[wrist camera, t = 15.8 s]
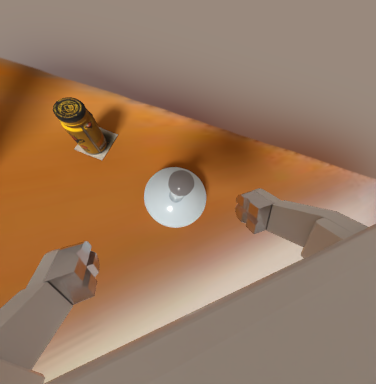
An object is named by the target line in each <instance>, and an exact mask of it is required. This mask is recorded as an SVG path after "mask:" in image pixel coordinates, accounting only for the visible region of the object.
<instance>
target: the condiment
mask: <svg viewBox="0 0 376 384" xmlns="http://www.w3.org/2000/svg"><path fill="white" fill-rule="evenodd" d="M53 112H54V114H55V115H56V117H57V118H58V119H59V120H60V122H61V125H62V126H63V128H64V129H65V130H66V131H67V132H68V133H69V134H70V135H71V136H72V138H73V139H74V140H75V141H76V142H77V143H78V145H77V146H76V148H75V150H77V151H80V152H82V153H85V154H87V155H90V156H92V157H95V158H97V159H100V160H103V158H104V157H105V155H106V153H107V152H108V150H109V149H110V147H111V145H112V144H113V142H114V141H115V139H116V137H117V135H118V134H115V133H112V132H110V131H107V130H105V129H102V128H100V127H99V126H98V124H97V123H96V121H95V119H94V117H93V116H92V114H91V113H90V112H89V111H88V110H87V109H86V108H85V106H84V104H83V103H82V102H81V101H79V100H78V99H75V98H71V97H69V98H62V99H60V100H58V101H57V102H56V103H55V104H54V106H53Z"/></svg>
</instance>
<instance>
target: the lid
mask: <svg viewBox="0 0 376 384" xmlns="http://www.w3.org/2000/svg"><path fill="white" fill-rule="evenodd" d="M144 201H145V205H146V208H147V210H148V212H149V214H150V215H151V216H152V218H153V219H154V220H156V221H157V222H158V223H160V224H162V225H164V226H167V227H173V228H178V227H183V226H187V225H189V224H191V223H193V222H194V221H195V220H197V219H198V218H199V217H200V215H201V214H202V212H203V210H204V208H205V204H206V191H205V188H204V186H203V184H202V182H201V180H200V179H199V178H198V177H197V176H196V175H195V174H194V173H192V172H191V171H189V170H187V169H184V168H179V167H170V168H165V169H162V170H160V171H159V172H157V173H156V174H154V175H153V176H152V177H151V178H150V180H149V181H148V183H147V185H146V188H145V192H144Z"/></svg>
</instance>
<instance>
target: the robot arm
mask: <svg viewBox="0 0 376 384" xmlns="http://www.w3.org/2000/svg"><path fill="white" fill-rule="evenodd" d="M236 202H237V203H238V204H237V206H236V209H235V212H236V215H237V217H238V219H239V220H240V221H241V222H244V223H246V227H247V228H248V229H249V230H250V231H251V232H252V233H253V234H256V233H259V232H262V231H264V230H266V231H269V232H271V233H273V234H275V235H278V236H280V237H282V238H284V239H286V240H289V241H291V242H293V243H295V244H298V245H300V246H302V247H304V248H303V250H302V252H301V256H302V257H303V258H304V259H302V260H300V261H298V262H296V263H293V264H291V265H289V266H287V267H285V268H283V269H281V270H279V271H277V272H275V273H273V274H271V275H269V276H266V277H264V278H262V279H260V280H258V281H256V282H254V283H252V284H250V285H248V286H246V287H244V288H242V289H239V290H237V291H235V292H233V293H231V294H229V295H227V296H225V297H223V298H221V299H219V300H217V301H215V302H212V303H210V304H208V305H206V306H204V307H202V308H200V309H198V310H196V311H194V312H192V313H190V314H188V315H185V316H183V317H181V318H179V319H177V320H175V321H173V322H171V323H169V324H167V325H165V326H163V327H161V328H158V329H156V330H154V331H152V332H150V333H148V334H146V335H144V336H142V337H140V338H138V339H136V340H134V341H132V342H129V343H127V344H125V345H123V346H121V347H119V348H117V349H115V350H113V351H111V352H109V353H107V354H105V355H102V356H100V357H98V358H96V359H94V360H92V361H90V362H88V363H86V364H84V365H82V366H80V367H78V368H76V369H73V370H71V371H69V372H67V373H65V374H63V375H61V376H59V377H57V378H55V379H53V380H51V381H49V382H46V383H44V379H45V377H44V375H43V374H41V373H38V372H35V371H33V370H32V368H33V367H34V365H35V363H36V362H37V360H38V359H39V357H40V356H41V354H42V353H43V351H44V350H45V348H46V347H47V345H48V344H49V342H50V341H51V339H52V337H53V336H54V334H55V333H56V331H57V330H58V328H59V327H60V325H61V324H62V322H63V321H64V319H65V318H66V316H67V315H68V313H69V311H70V310H71V308H72V307H73V305H74V304H76V303H79V302H81V301H83V300H86V299H88V298H91V297H93V296H95V291H96V285H97V280H96V279H95V276H96V275H97V274H98V272H99V267H100V266H99V259H98V256H97V254H96V253H95V252H92V251H90V250H91V245H90V244H89V242H86V241H85V242H81V243H77V244H74V245H70V246H67V247H63V248H61V249H57V250H53V251H50V252H48V253H46V254H45V255H44V257H43V258H42V260H41V262H40V264H39V266H38V267H37V269H36V271H35V273H34V275H33V276H32V278H31V280H30V282H29V283H28V285H27V287H26V289H24V290H21V291H20V292H18V293H17V294H16V295H15V296H14V297H13V298H12V299H11V300H10V301H8V302H7V303H6V304H5V305H4V306H3V307H2V308H1V309H0V384H43V383H44V384H376V224H374V225H372V226H370V227H367V226H365V225H363V224H361V223H359V222H357V221H355V220H353V219H351V218H349V217H347V216H345V215H343V214H341V213H339V212H337V211H332V210H327V209H323V208H318V207H313V206H309V205H304V204H299V203H294V202H290V201H285V200H284V201H281V200H280V199H278V198H276V197H275V196H273V195H271V194H270V193H268V192H266V191H265V190H263V189H260V188H259V189H256V190H253V191H250V192H247V193H244V194H241V195H238V196H237V198H236Z"/></svg>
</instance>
